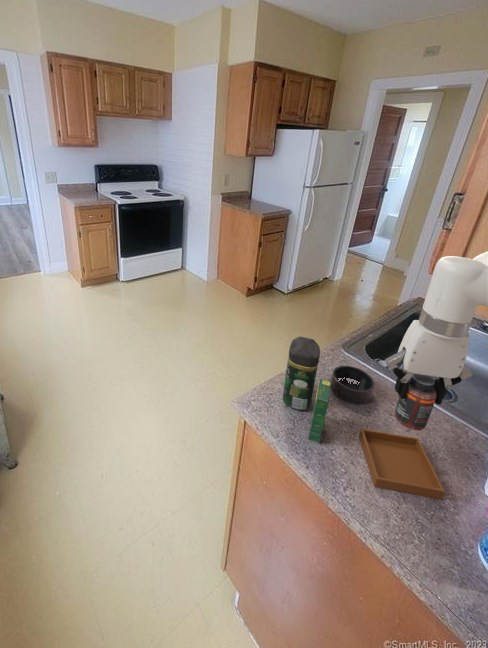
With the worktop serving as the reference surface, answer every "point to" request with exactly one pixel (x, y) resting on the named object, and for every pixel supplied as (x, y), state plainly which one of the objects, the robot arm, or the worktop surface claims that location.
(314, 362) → the coffee jar
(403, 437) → the tray
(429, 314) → the robot arm
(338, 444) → the worktop surface
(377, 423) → the worktop surface
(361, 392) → the bowl
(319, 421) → the coffee box
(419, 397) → the supplement bottle
